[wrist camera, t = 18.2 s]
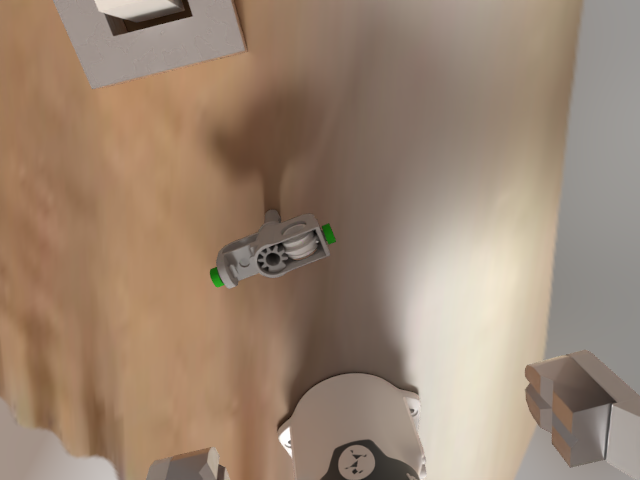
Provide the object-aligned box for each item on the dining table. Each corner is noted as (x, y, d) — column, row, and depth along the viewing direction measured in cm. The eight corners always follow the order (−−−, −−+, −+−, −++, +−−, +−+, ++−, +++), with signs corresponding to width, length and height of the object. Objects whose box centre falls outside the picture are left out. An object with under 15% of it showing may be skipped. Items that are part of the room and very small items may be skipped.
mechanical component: (219, 222, 40) (204, 269, 31) (315, 184, 40) (328, 221, 31) (232, 247, 42) (221, 299, 32) (325, 211, 41) (340, 253, 32)
